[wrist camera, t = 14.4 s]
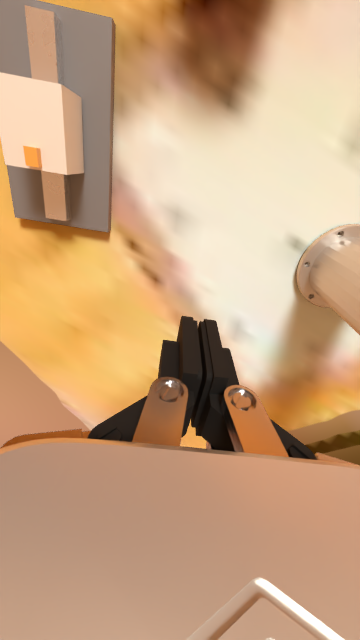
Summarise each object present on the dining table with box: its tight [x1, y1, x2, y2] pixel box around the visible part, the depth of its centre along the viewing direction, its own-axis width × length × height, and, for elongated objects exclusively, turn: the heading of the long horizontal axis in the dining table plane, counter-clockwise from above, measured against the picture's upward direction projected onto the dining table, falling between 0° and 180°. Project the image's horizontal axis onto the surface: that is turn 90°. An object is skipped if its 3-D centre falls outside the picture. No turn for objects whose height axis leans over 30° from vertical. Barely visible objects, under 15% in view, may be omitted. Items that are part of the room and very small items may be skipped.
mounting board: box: [0, 0, 115, 232], centre depth 30 cm, size 12×20×2 cm, turn 171°
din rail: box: [25, 5, 72, 221], centre depth 28 cm, size 2×18×2 cm, turn 171°
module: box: [0, 72, 84, 175], centre depth 26 cm, size 6×7×6 cm
